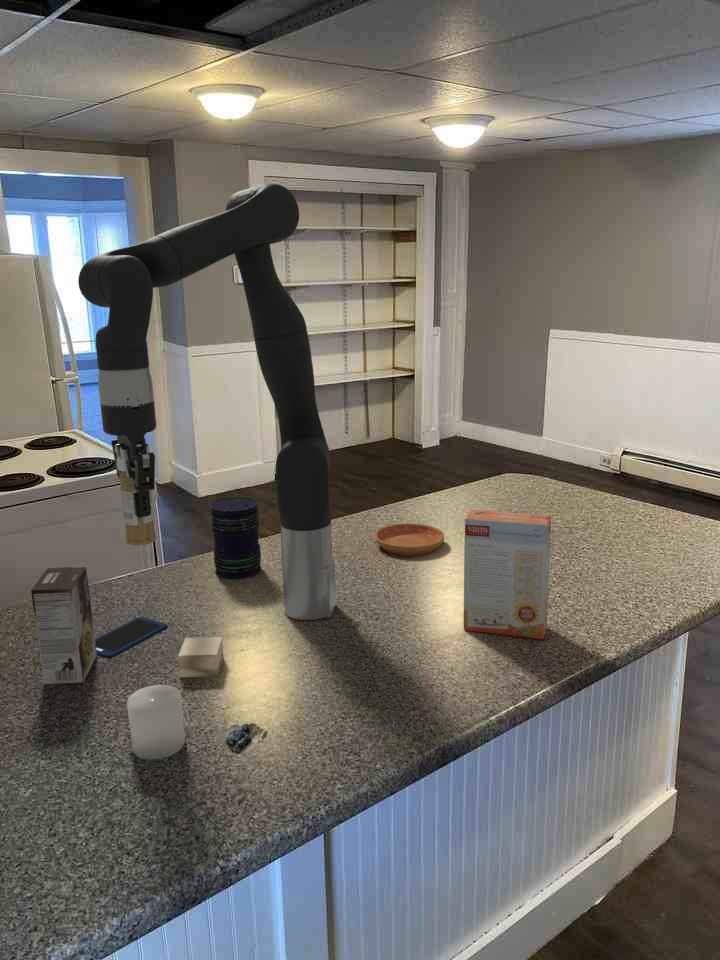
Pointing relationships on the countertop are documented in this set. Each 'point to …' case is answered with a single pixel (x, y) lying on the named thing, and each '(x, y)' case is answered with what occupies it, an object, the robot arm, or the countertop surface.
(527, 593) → the cracker box
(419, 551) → the saucer
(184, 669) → the maple block
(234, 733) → the blueberries
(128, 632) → the cell phone
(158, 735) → the cream canister
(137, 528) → the sprinkles bottle
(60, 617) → the coffee box
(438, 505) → the countertop surface
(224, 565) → the storage jar
